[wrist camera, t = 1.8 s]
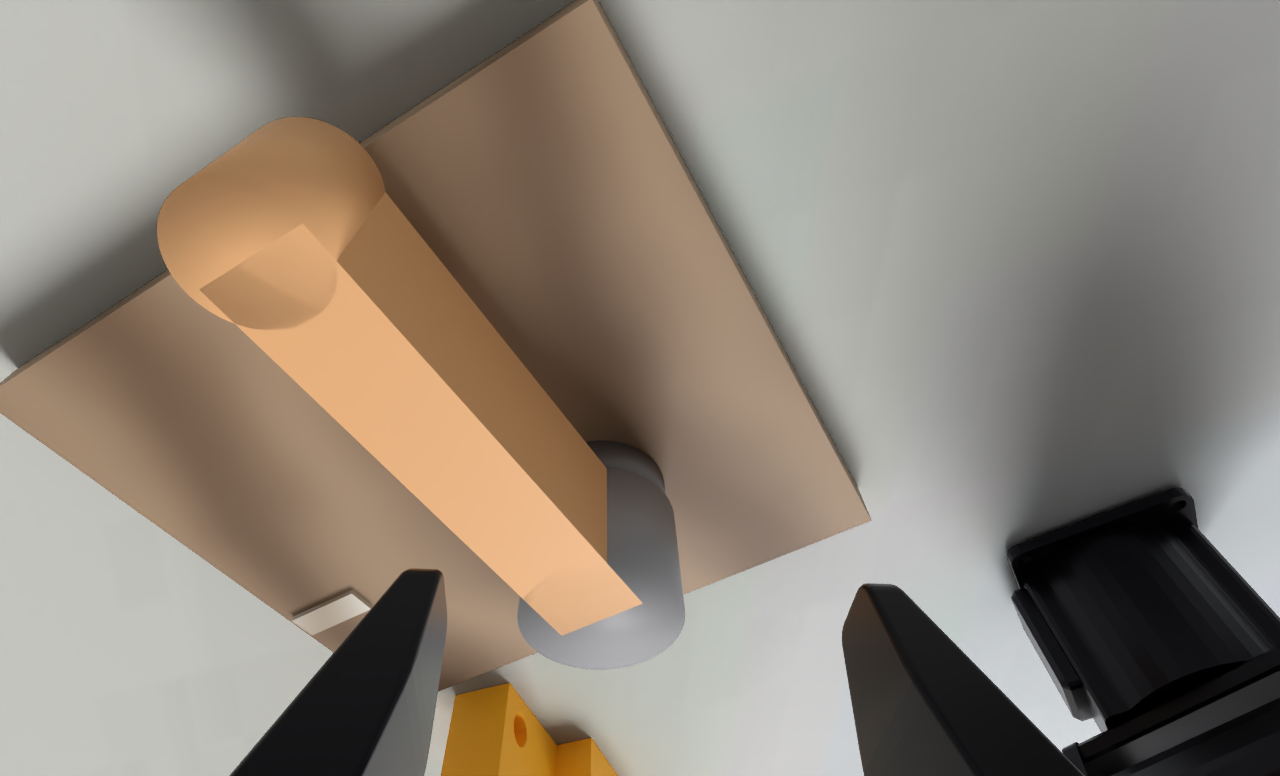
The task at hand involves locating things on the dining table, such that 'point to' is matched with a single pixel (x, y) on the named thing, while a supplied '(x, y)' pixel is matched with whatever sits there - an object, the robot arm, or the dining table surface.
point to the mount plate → (526, 320)
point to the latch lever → (426, 386)
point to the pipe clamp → (511, 741)
